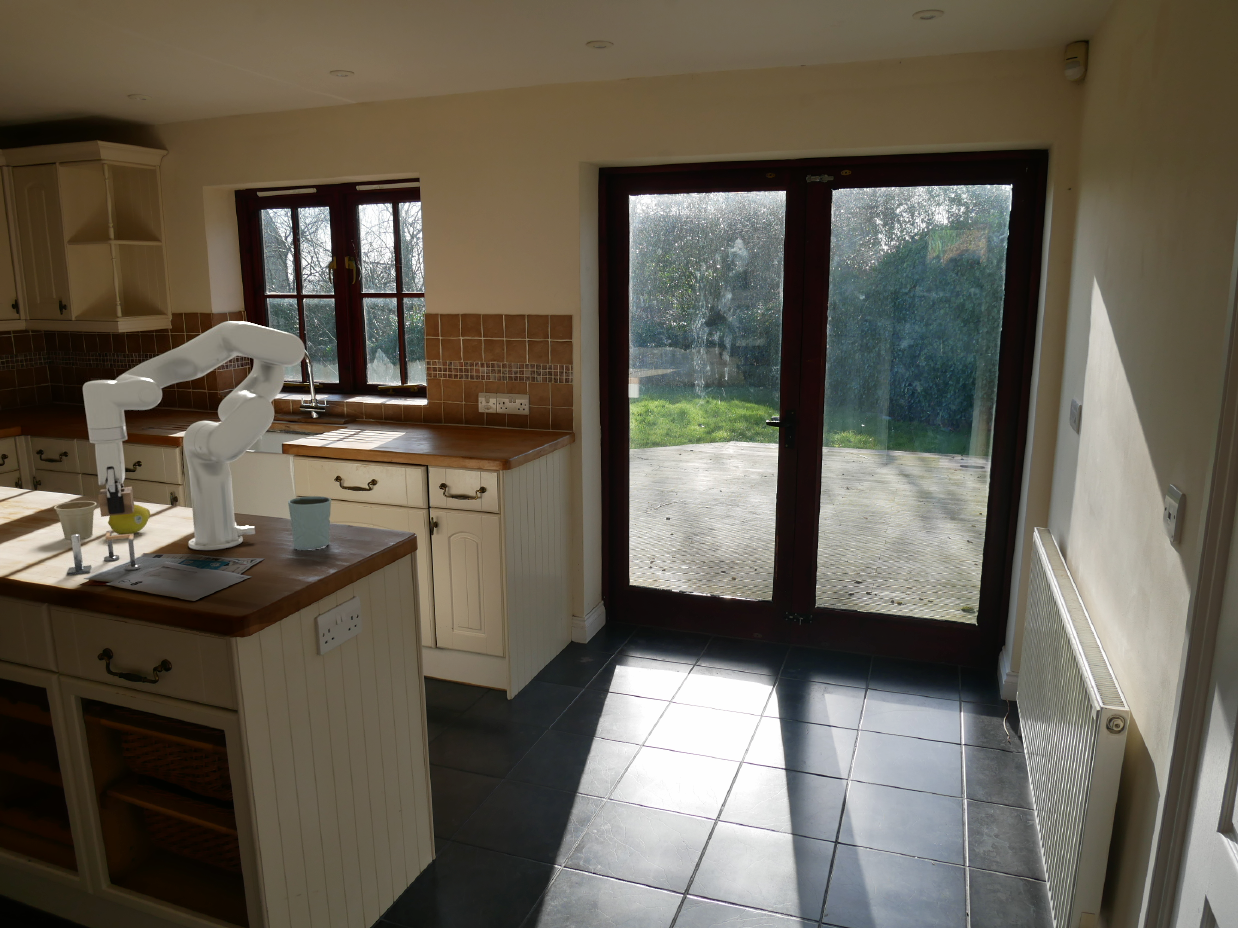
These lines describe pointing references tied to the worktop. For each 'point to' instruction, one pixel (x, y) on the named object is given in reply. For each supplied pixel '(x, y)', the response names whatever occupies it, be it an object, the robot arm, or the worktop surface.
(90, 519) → the flower pot
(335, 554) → the worktop surface
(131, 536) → the buzz wire
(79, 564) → the peg stand
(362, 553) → the worktop surface
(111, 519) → the lemon
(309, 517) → the light blue cup
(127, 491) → the open wooden box
